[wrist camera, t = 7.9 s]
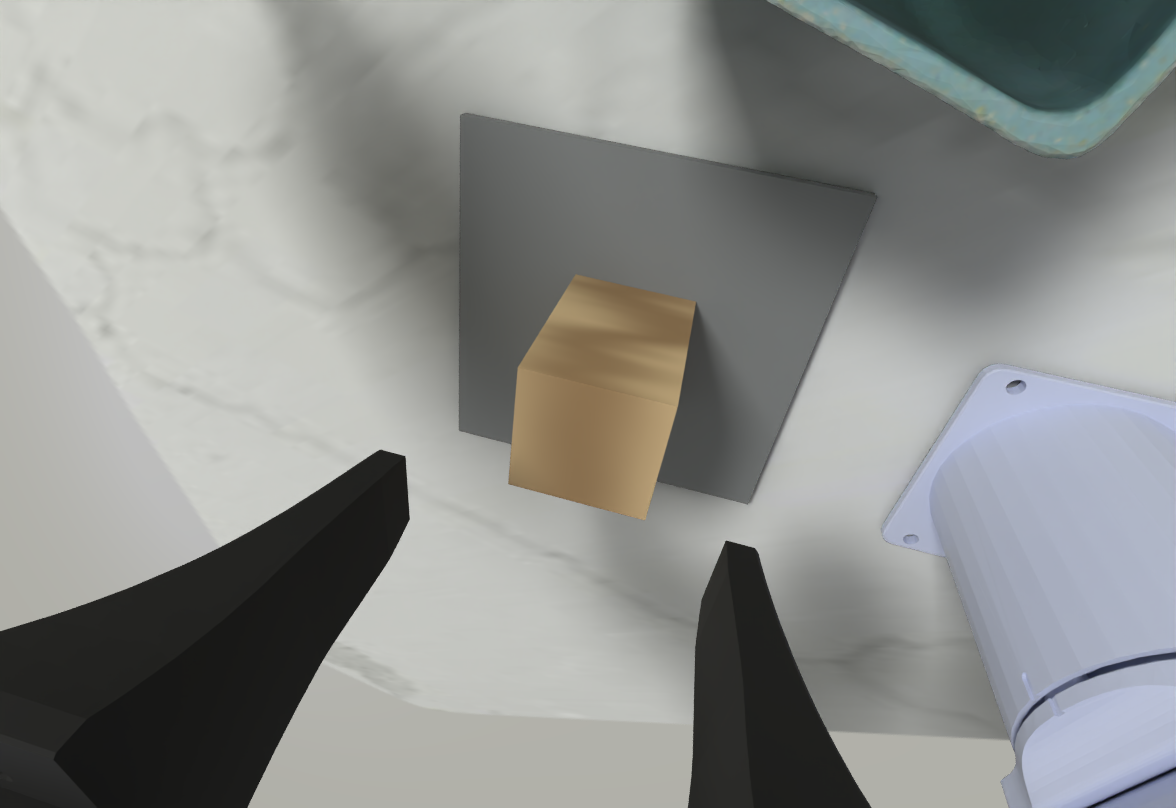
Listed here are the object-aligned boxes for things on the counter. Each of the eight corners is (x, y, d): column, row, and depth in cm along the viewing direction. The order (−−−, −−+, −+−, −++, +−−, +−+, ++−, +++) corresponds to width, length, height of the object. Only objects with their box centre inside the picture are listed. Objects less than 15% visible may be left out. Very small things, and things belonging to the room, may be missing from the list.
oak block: (696, 301, 19) (677, 406, 14) (668, 401, 21) (645, 520, 16) (575, 274, 19) (517, 367, 14) (561, 375, 22) (508, 483, 17)
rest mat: (874, 193, 16) (877, 197, 16) (747, 497, 23) (747, 504, 23) (465, 112, 18) (460, 115, 17) (462, 425, 25) (459, 430, 24)
